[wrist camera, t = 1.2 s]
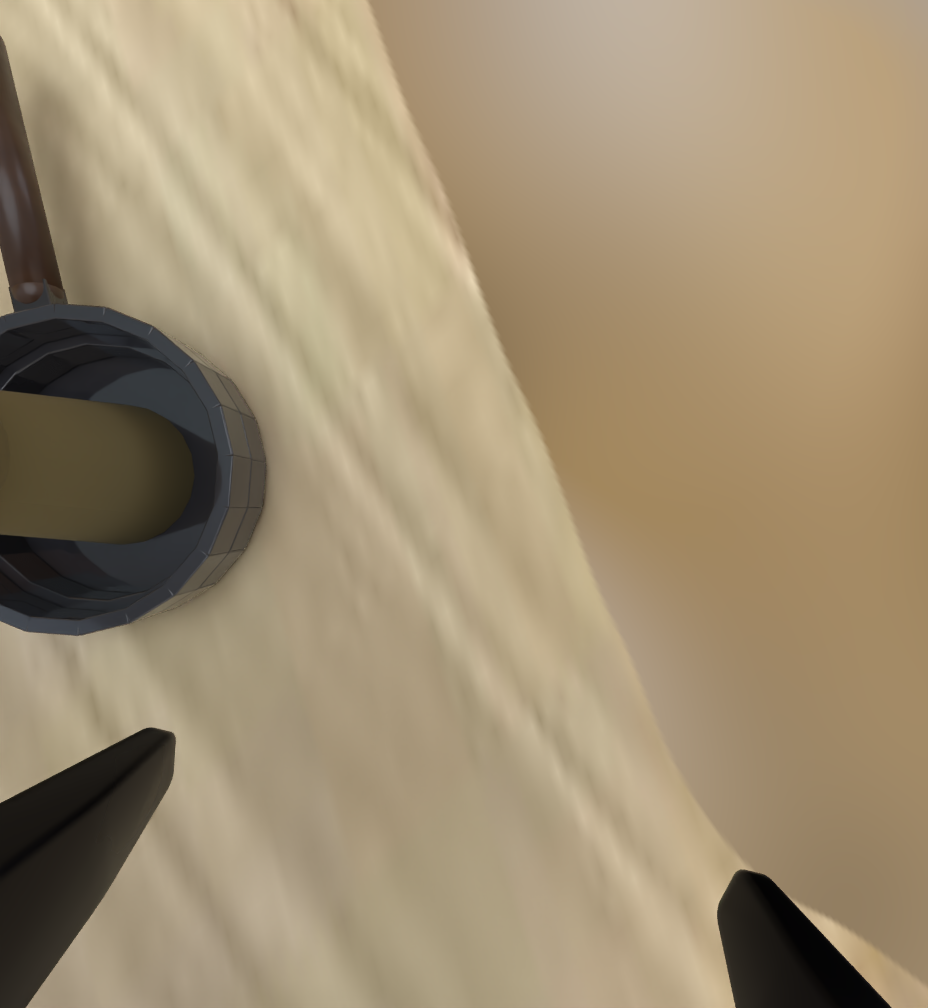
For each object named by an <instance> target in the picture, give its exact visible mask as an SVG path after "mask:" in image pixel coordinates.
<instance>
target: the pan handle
mask: <svg viewBox="0 0 928 1008" xmlns="http://www.w3.org/2000/svg"><path fill="white" fill-rule="evenodd" d="M0 248H1V252H2V257H3V261H4V265H5V269H6V274H7V278H8V282H9V286H10V287H9V291H10V296H11V300H12V304H13V308H14V313H15V312H19V311H23V310H27V309H31V308H35V307H40V306H44V305H48V304H52V303H53V304H55V303H61V304H68V302H67V297H66V293H65V290H64V289H63V286H62V281H61V277H60V273H59V269H58V265H57V260H56V256H55V252H54V248H53V244H52V239H51V235H50V231H49V227H48V223H47V218H46V214H45V210H44V206H43V202H42V197H41V193H40V189H39V185H38V181H37V176H36V172H35V168H34V164H33V160H32V155H31V151H30V147H29V143H28V139H27V134H26V130H25V126H24V122H23V118H22V113H21V109H20V105H19V101H18V97H17V92H16V88H15V84H14V80H13V76H12V71H11V67H10V63H9V59H8V55H7V50H6V46H5V44H4V41H3V39H2V38H1V36H0Z"/></svg>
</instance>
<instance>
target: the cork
mask: <svg viewBox="0 0 928 1008" xmlns="http://www.w3.org/2000/svg"><path fill="white" fill-rule="evenodd" d="M193 482H194V468H193V461H192V454H191V452H190V450H189V448H188V446H187V444H186V442H185V440H184V437H183V435H182V434H181V433H180V432H179V431H178V430H177V429H176V428H175V427H174V426H173V425H172V424H171V423H170V421H169V420H168V419H166V418H164V417H163V416H161V415H159V414H157V413H155V412H153V411H151V410H149V409H147V408H142V407H136V406H130V405H124V404H115V403H107V402H98V401H89V400H81V399H72V398H63V397H54V396H46V395H37V394H28V393H20V392H11V391H2V390H0V534H1V535H13V536H25V537H37V538H49V539H61V540H73V541H85V542H97V543H109V544H121V545H124V544H131V543H138V542H145V541H147V540H149V539H151V538H153V537H155V536H157V535H159V534H161V533H163V532H165V531H166V530H167V529H168V528H169V527H170V526H171V525H172V524H173V523H174V522H175V521H176V520H177V519H178V518H180V516H181V514H182V513H183V511H184V509H185V507H186V505H187V503H188V501H189V500H190V498H191V493H192V487H193Z"/></svg>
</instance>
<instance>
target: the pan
mask: <svg viewBox="0 0 928 1008" xmlns="http://www.w3.org/2000/svg"><path fill="white" fill-rule="evenodd" d="M0 390H2V391H11V392H20V393H28V394H37V395H46V396H54V397H63V398H72V399H81V400H89V401H98V402H107V403H115V404H124V405H130V406H136V407H142V408H147V409H149V410H151V411H153V412H155V413H157V414H159V415H161V416H163V417H164V418H166V419H168V420H169V421H170V423H171V424H172V425H173V426H174V427H175V428H176V429H177V430H178V431H179V432H180V433H181V434H182V435H183V437H184V440H185V442H186V444H187V446H188V448H189V450H190V452H191V454H192V461H193V468H194V482H193V487H192V493H191V498H190V500H189V501H188V503H187V505H186V507H185V509H184V511H183V513H182V514H181V516H180V518H178V519H177V520H176V521H175V522H174V523H173V524H172V525H171V526H170V527H169V528H168V529H167V530H166V531H165V532H163V533H161V534H159V535H157V536H155V537H153V538H151V539H149V540H147V541H145V542H138V543H131V544H124V545H121V544H109V543H97V542H85V541H73V540H61V539H49V538H37V537H25V536H13V535H1V534H0V621H1V622H4V623H6V624H8V625H11V626H13V627H16V628H18V629H21V630H23V631H26V632H34V633H47V634H60V635H74V636H79V635H86V634H90V633H94V632H98V631H102V630H106V629H110V628H114V627H119V626H123V625H127V624H130V623H133V622H136V621H139V620H142V619H145V618H148V617H151V616H153V615H156V614H159V613H162V612H165V611H168V610H171V609H174V608H176V607H179V606H181V605H183V604H184V603H186V602H187V601H189V600H191V599H192V598H194V597H196V596H197V595H199V594H200V593H202V592H204V591H205V590H207V589H208V588H210V587H212V586H213V585H215V584H216V582H218V581H219V580H220V579H221V577H222V576H223V575H224V574H225V573H226V572H227V570H228V569H229V568H230V567H231V566H232V565H233V563H234V562H235V561H236V560H237V559H238V558H239V556H240V555H241V554H242V553H243V552H244V550H245V549H244V548H246V547H247V545H248V542H249V540H250V537H251V535H252V533H253V530H254V528H255V525H256V523H257V520H258V518H259V516H260V513H261V511H262V507H263V500H264V487H265V474H266V463H265V462H266V459H265V455H264V451H263V447H262V443H261V438H260V434H259V430H258V426H257V422H256V420H255V417H254V415H253V413H252V412H251V410H250V409H249V407H248V405H247V404H246V402H245V400H244V399H243V397H242V396H241V394H240V392H239V391H238V389H237V387H236V386H235V384H234V383H233V382H232V381H231V379H229V378H228V377H227V376H226V375H225V374H224V373H222V372H221V371H220V370H219V369H218V368H216V367H215V366H214V365H213V364H212V363H211V362H209V361H208V360H207V359H206V358H205V357H204V356H202V355H201V354H200V353H198V352H197V351H195V350H193V349H192V348H190V347H188V346H187V345H185V344H183V343H181V342H180V341H178V340H176V339H175V338H173V337H171V336H170V335H168V334H166V333H164V332H163V331H161V330H159V329H158V328H156V327H154V326H152V325H150V324H147V323H145V322H142V321H140V320H138V319H135V318H133V317H130V316H128V315H125V314H123V313H121V312H118V311H116V310H113V309H111V308H106V307H101V306H88V305H74V304H61V303H55V304H53V303H52V304H48V305H44V306H40V307H35V308H31V309H27V310H23V311H19V312H15V313H11V314H6V315H4V316H1V317H0Z"/></svg>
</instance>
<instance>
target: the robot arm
mask: <svg viewBox="0 0 928 1008" xmlns="http://www.w3.org/2000/svg"><path fill="white" fill-rule="evenodd" d="M175 744H176V738H175V735H174V734H173V733H172V732H169V731H165V730H161V729H157V728H146V729H143V730H141V731H139V732H137V733H135V734H133V735H131V736H129V737H127V738H125V739H123V740H121V741H119V742H118V743H116V744H114V745H112V746H110V747H108V748H106V749H104V750H102V751H100V752H98V753H96V754H94V755H92V756H90V757H89V758H87V759H85V760H83V761H81V762H79V763H77V764H75V765H73V766H71V767H69V768H67V769H65V770H63V771H61V772H60V773H58V774H56V775H54V776H52V777H50V778H48V779H46V780H44V781H42V782H40V783H38V784H36V785H34V786H32V787H31V788H29V789H27V790H25V791H23V792H21V793H19V794H17V795H15V796H13V797H11V798H9V799H7V800H5V801H3V802H2V803H0V1008H26V1006H27V1005H28V1004H29V1002H30V1001H31V999H32V998H33V996H34V995H35V994H36V992H37V991H38V989H39V988H40V987H41V985H42V984H43V982H44V981H45V980H46V978H47V977H48V975H49V974H50V973H51V971H52V970H53V968H54V967H55V966H56V964H57V963H58V961H59V960H60V958H61V957H62V956H63V954H64V953H65V951H66V950H67V949H68V947H69V946H70V944H71V943H72V942H73V940H74V939H75V937H76V936H77V935H78V933H79V932H80V930H81V929H82V928H83V926H84V925H85V923H86V922H87V920H88V919H89V918H90V916H91V915H92V913H93V912H94V910H95V909H96V907H97V906H98V904H99V903H100V902H101V900H102V899H103V897H104V895H105V894H106V892H107V891H108V889H109V887H110V886H111V884H112V882H113V881H114V879H115V878H116V876H117V874H118V872H119V871H120V869H121V867H122V866H123V864H124V862H125V861H126V859H127V857H128V856H129V854H130V852H131V850H132V849H133V847H134V845H135V844H136V842H137V840H138V839H139V837H140V835H141V834H142V832H143V830H144V828H145V827H146V825H147V823H148V822H149V820H150V818H151V817H152V815H153V813H154V812H155V810H156V808H157V806H158V805H159V803H160V801H161V800H162V798H163V796H164V795H165V793H166V791H167V789H168V787H169V785H170V783H171V780H172V777H173V772H174V759H175ZM717 919H718V926H719V931H720V935H721V940H722V945H723V950H724V954H725V959H726V964H727V969H728V973H729V978H730V983H731V988H732V992H733V997H734V1002H735V1007H736V1008H891V1007H890V1005H889V1004H888V1003H887V1002H886V1001H885V1000H884V999H883V998H882V997H881V996H880V995H879V994H878V993H877V992H876V991H875V989H874V988H873V987H872V986H871V985H870V984H869V983H868V982H867V981H866V980H865V979H864V978H863V977H862V976H861V975H860V973H859V972H858V971H857V970H856V969H855V968H854V967H853V966H852V965H851V964H850V963H849V962H848V961H847V960H846V959H845V957H844V956H843V955H842V954H841V953H840V952H839V951H838V950H837V949H836V948H835V947H834V946H833V945H832V944H831V943H830V941H829V940H828V939H827V938H826V937H825V936H824V935H823V934H822V933H821V932H820V931H819V930H818V929H817V928H816V927H815V925H814V924H813V923H812V922H811V921H810V920H809V919H808V918H807V917H806V916H805V915H804V914H803V913H802V912H801V911H800V910H799V908H798V907H797V906H796V905H795V904H794V903H793V902H792V901H791V900H790V899H789V898H788V897H787V896H786V895H785V894H784V892H783V891H782V890H781V889H780V888H779V887H778V886H777V885H776V884H775V883H774V882H773V881H772V880H771V879H770V878H769V877H767V876H765V875H763V874H760V873H756V872H752V871H748V870H739V871H737V872H736V873H735V874H734V876H733V878H732V880H731V881H730V883H729V885H728V887H727V889H726V891H725V893H724V895H723V896H722V898H721V900H720V902H719V905H718V910H717Z"/></svg>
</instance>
